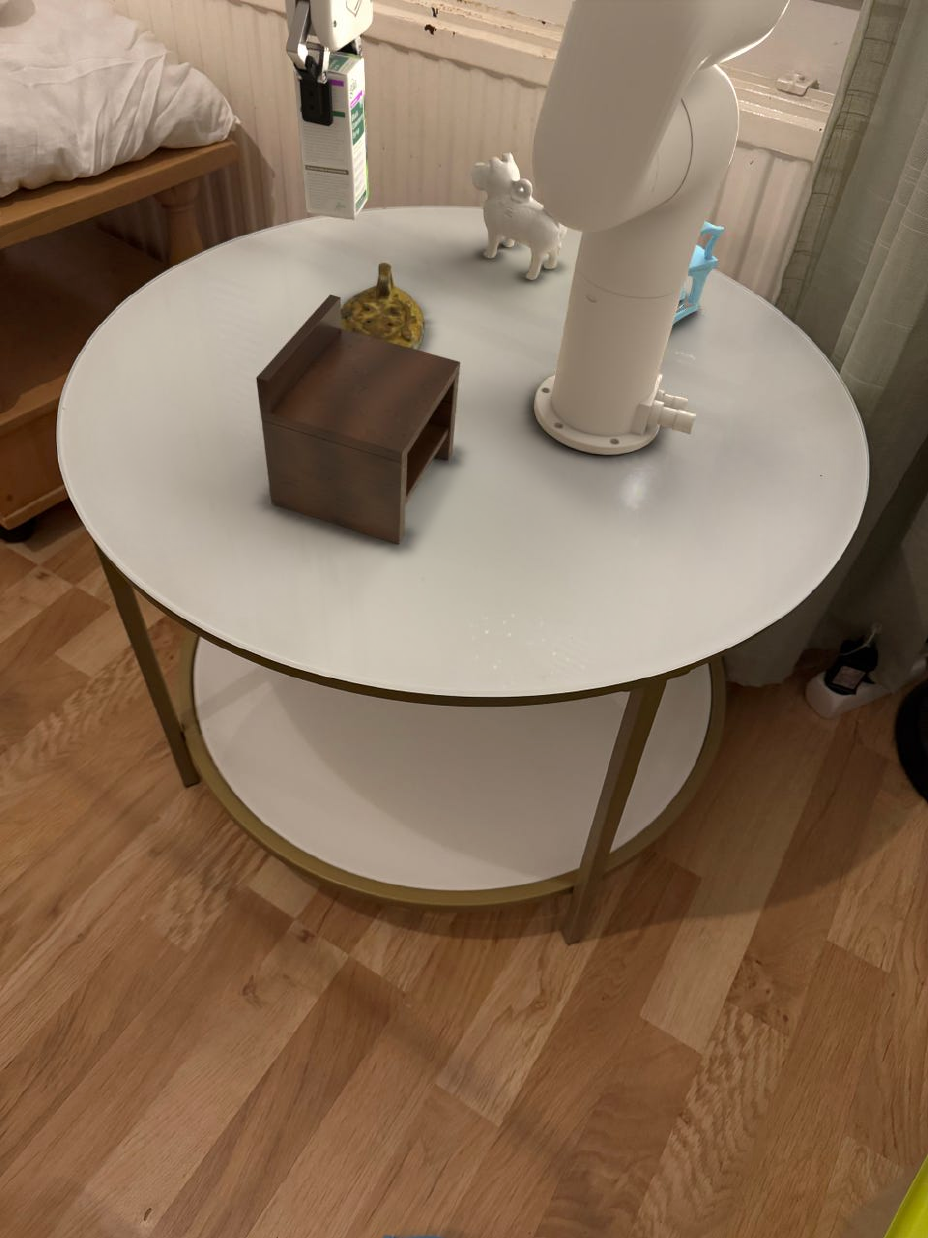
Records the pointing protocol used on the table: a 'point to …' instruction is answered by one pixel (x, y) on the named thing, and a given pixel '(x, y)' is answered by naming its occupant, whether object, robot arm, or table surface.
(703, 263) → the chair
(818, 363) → the table surface
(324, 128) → the syrup box
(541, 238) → the dog figurine
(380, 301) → the seal
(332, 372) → the shelf
